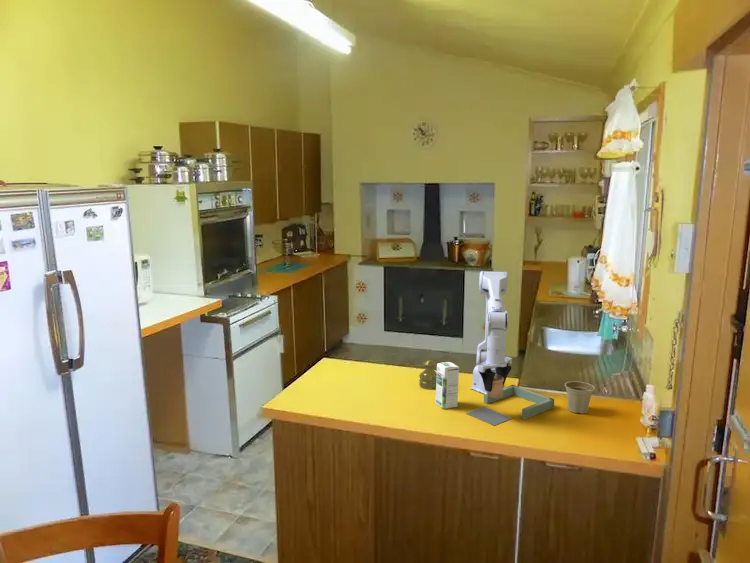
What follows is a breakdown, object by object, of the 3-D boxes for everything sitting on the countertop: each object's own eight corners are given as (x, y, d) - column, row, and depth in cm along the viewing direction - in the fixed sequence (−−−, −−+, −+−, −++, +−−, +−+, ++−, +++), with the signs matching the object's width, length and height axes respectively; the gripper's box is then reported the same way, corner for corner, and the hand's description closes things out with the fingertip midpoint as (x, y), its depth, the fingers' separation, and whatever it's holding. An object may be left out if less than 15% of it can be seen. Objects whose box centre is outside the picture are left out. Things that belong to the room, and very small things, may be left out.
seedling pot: (482, 395, 185) (482, 377, 184) (494, 390, 189) (493, 373, 187) (496, 400, 181) (495, 382, 180) (507, 394, 184) (507, 377, 183)
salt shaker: (429, 391, 206) (430, 364, 205) (415, 385, 212) (415, 360, 210) (443, 386, 211) (443, 360, 210) (428, 381, 217) (429, 356, 215)
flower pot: (569, 402, 196) (570, 379, 195) (596, 409, 191) (598, 385, 189) (558, 411, 189) (560, 386, 188) (587, 418, 183) (589, 393, 182)
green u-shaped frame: (483, 402, 196) (484, 394, 196) (512, 392, 206) (512, 384, 205) (525, 419, 183) (525, 410, 182) (553, 407, 192) (554, 399, 192)
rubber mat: (466, 413, 187) (466, 413, 187) (484, 407, 192) (484, 406, 192) (494, 425, 177) (494, 425, 177) (512, 418, 183) (512, 418, 183)
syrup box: (434, 403, 195) (435, 363, 192) (449, 400, 197) (450, 361, 195) (443, 409, 190) (444, 368, 187) (458, 406, 192) (459, 366, 190)
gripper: (491, 355, 174) (489, 397, 177) (520, 347, 183) (518, 387, 186) (473, 350, 180) (472, 390, 182) (502, 342, 189) (501, 381, 191)
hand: (494, 388), depth 184 cm, fingers closed on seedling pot, 5 cm apart
